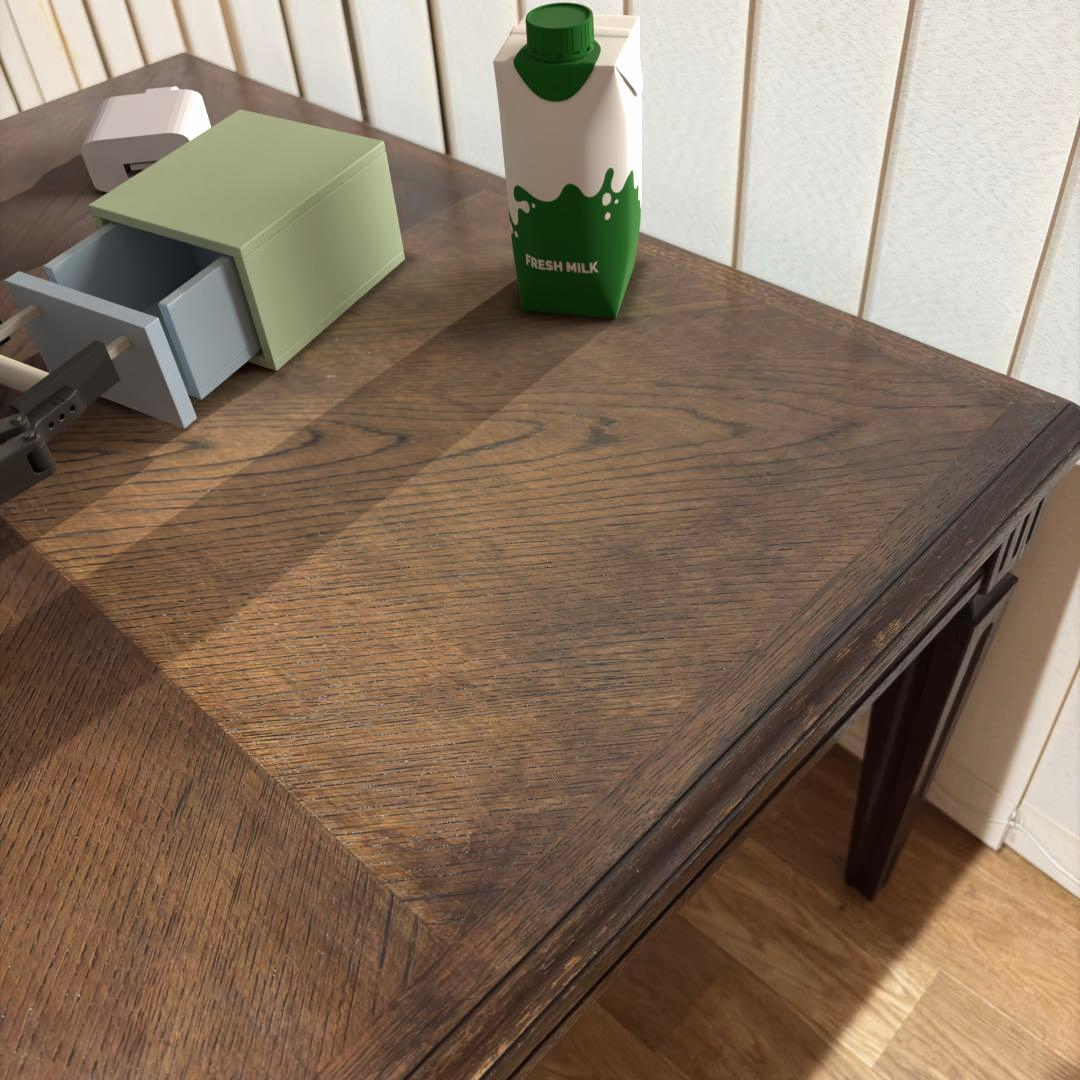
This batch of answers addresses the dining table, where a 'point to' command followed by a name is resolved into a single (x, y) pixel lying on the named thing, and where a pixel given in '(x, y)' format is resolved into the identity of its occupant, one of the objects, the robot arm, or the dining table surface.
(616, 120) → the milk carton
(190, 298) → the drawer
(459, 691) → the dining table surface
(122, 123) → the charger
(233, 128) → the cabinet
